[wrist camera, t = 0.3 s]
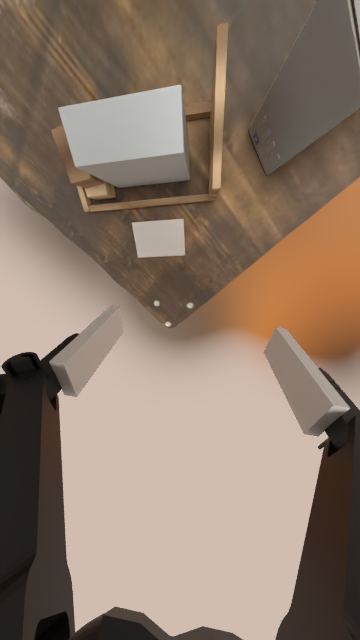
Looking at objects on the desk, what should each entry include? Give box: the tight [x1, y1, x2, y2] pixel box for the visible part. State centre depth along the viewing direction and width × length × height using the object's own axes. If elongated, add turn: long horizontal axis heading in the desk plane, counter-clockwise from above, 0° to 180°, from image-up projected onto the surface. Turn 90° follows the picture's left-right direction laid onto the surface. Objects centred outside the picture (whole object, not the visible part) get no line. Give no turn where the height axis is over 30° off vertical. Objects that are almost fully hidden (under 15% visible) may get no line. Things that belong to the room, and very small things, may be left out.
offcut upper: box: [51, 126, 104, 189], centre depth 26 cm, size 6×4×4 cm, turn 9°
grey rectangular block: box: [58, 85, 190, 188], centre depth 24 cm, size 5×14×13 cm, turn 93°
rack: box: [59, 23, 228, 212], centre depth 25 cm, size 12×26×12 cm, turn 93°
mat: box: [132, 219, 185, 258], centre depth 35 cm, size 7×11×1 cm, turn 93°
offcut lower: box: [85, 180, 117, 200], centre depth 29 cm, size 8×4×4 cm, turn 4°
